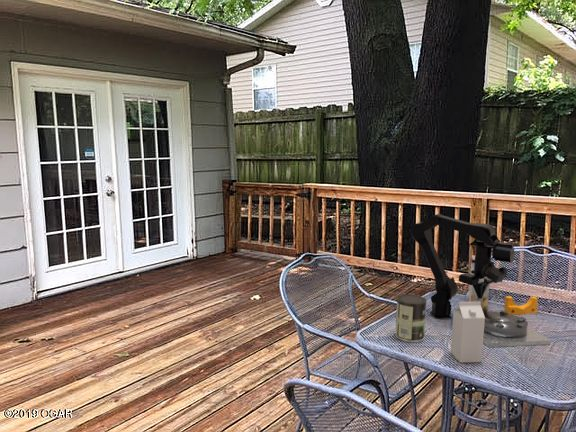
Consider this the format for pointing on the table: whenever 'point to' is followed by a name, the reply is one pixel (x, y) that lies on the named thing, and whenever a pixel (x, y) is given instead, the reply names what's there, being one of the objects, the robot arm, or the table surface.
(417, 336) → the coffee can
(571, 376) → the table surface
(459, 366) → the table surface
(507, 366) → the table surface
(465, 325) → the milk carton
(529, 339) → the base plate
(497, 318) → the crank wheel
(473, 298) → the cracker box
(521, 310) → the pipe clamp
